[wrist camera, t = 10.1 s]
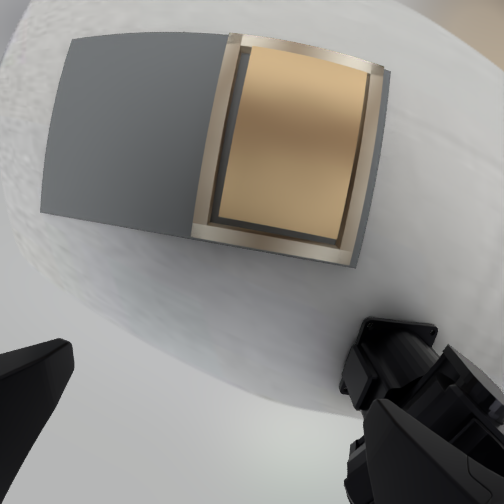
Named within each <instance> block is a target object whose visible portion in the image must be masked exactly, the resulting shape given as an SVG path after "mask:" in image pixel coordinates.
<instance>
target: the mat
mask: <svg viewBox="0 0 504 504" xmlns="http://www.w3.org/2000/svg"><path fill="white" fill-rule="evenodd" d="M228 36H229V35H222V34H209V33H189V32H145V33H125V34H112V35H102V36H93V37H85V38H78V39H72V41H71V44H70V47H69V51H68V54H67V57H66V60H65V64H64V67H63V71H62V74H61V78H60V82H59V86H58V90H57V94H56V99H55V103H54V108H53V112H52V117H51V123H50V128H49V134H48V140H47V147H46V154H45V162H44V170H43V180H42V192H41V208H40V213H46V214H52V215H58V216H63V217H69V218H75V219H80V220H86V221H92V222H97V223H103V224H109V225H115V226H120V227H126V228H132V229H137V230H143V231H149V232H154V233H160V234H166V235H171V236H177V237H182V238H188V239H194V240H199V241H205V242H211V243H216V244H222V245H227V246H233V247H239V248H244V249H250V250H255V251H261V252H267V253H272V254H278V255H283V256H289V257H295V258H300V259H306V260H311V261H317V262H322V263H328V264H334V265H339V266H345V267H350V268H356V265H357V262H358V258H359V254H360V250H361V246H362V241H363V237H364V233H365V229H366V224H367V220H368V215H369V211H370V206H371V201H372V196H373V191H374V186H375V181H376V175H377V170H378V164H379V158H380V152H381V146H382V140H383V133H384V126H385V118H386V111H387V102H388V93H389V84H390V73H391V71H388V70H385V69H384V74H383V84H382V93H381V102H380V110H379V118H378V125H377V132H376V138H375V145H374V151H373V157H372V163H371V168H370V174H369V179H368V185H367V190H366V195H365V200H364V205H363V209H362V214H361V219H360V223H359V228H358V232H357V236H356V240H355V245H354V249H353V253H352V257H351V261H350V265H345V264H339V263H334V262H328V261H322V260H317V259H311V258H306V257H300V256H295V255H289V254H284V253H278V252H273V251H267V250H261V249H256V248H250V247H245V246H239V245H233V244H228V243H222V242H216V241H211V240H205V239H200V238H194V237H191V231H192V224H193V217H194V210H195V203H196V197H197V191H198V184H199V178H200V172H201V166H202V161H203V155H204V149H205V144H206V138H207V133H208V128H209V123H210V117H211V112H212V107H213V103H214V98H215V93H216V88H217V84H218V79H219V74H220V70H221V66H222V61H223V57H224V53H225V48H226V44H227V40H228ZM249 59H250V54H246V53H242V54H241V58H240V63H239V67H238V72H237V77H236V81H235V86H234V91H233V96H232V101H231V106H230V111H229V116H228V121H227V126H226V132H225V137H224V142H223V148H222V153H221V159H220V164H219V170H218V176H217V182H216V188H215V194H214V200H213V206H212V212H211V219H210V222H212V223H217V224H223V225H229V226H235V227H240V228H246V229H251V230H257V231H263V232H268V233H274V234H279V235H284V236H290V237H295V238H300V239H306V240H311V241H316V242H322V243H327V244H332V245H335V243H336V239H332V238H327V237H322V236H317V235H312V234H308V233H303V232H298V231H292V230H287V229H282V228H277V227H272V226H267V225H262V224H256V223H251V222H246V221H240V220H235V219H230V218H224V217H219V210H220V204H221V199H222V193H223V187H224V182H225V176H226V171H227V166H228V160H229V155H230V150H231V145H232V140H233V134H234V129H235V124H236V119H237V115H238V110H239V105H240V100H241V95H242V91H243V86H244V81H245V77H246V72H247V68H248V63H249Z"/></svg>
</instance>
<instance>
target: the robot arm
mask: <svg viewBox="0 0 504 504" xmlns="http://www.w3.org/2000/svg"><path fill="white" fill-rule="evenodd" d="M370 323H372V325H371V326H370V327H367V326H368V324H370ZM432 330H433V331H432ZM431 331H432V332H431ZM430 332H431V333H430ZM437 333H438V328H437V327H436V326H435V325H433V324H424V323H415V322H406V321H397V320H388V319H380V318H372V317H369V318H366V319H365V320H364V321H363V323H362V326H361V329H360V332H359V335H358V338H357V341H356V344H354V345H353V346H352V348H351V350H350V353H349V356H348V359H347V361H346V364H345V367H344V369H343V372H342V376H343V378H342V381H341V383H340V386H339V390H340V392H341V393H342V394H345V395H350V398H351V400H352V403H353V406H354V408H355V409H356V410H357V411H361V412H362V415H363V417H364V422H363V428H364V435H363V436H362V437H361V438H360V439H359V440H356V441H354V442H353V443H352V444H351V445H350V454H349V460H348V462H347V470H348V471H347V472H348V473H347V478H346V479H345V480H344V487H345V489H346V493H347V497H348V499H349V502H350V504H504V394H503V393H502V391H501V390H500V388H499V387H498V386H497V385H496V384H495V383H494V382H493V381H492V380H491V379H490V378H489V377H488V376H487V375H486V374H485V373H484V372H483V371H482V370H481V369H479V368H478V367H477V366H476V365H474V364H473V363H472V362H471V361H469V360H468V359H467V358H465V357H464V356H463V355H462V354H460V353H459V352H458V351H457V350H455V349H454V348H453V347H451V346H450V345H449V344H448V345H447V346H446V347H445V349H444V350H443V351H442V352H443V354H442V355H441V356H439V355H438V354H437V353H436V352H435V351H434V350H433V349H432V345H433V343H434V340H435V338H436V335H437ZM73 371H74V356H73V348H72V344H71V343H70V342H69V341H67V340H64V339H61V338H57V339H54V340H50V341H47V342H43V343H40V344H36V345H33V346H29V347H25V348H21V349H18V350H14V351H10V352H6V353H3V354H0V504H2V501H3V499H4V498H5V495H6V494H7V492H8V490H9V488H10V485H11V484H12V482H13V480H14V478H15V476H16V475H17V473H18V471H19V469H20V467H21V465H22V464H23V462H24V460H25V458H26V456H27V455H28V453H29V451H30V450H31V448H32V446H33V444H34V443H35V441H36V439H37V438H38V436H39V434H40V433H41V431H42V429H43V427H44V426H45V424H46V422H47V421H48V419H49V418H50V416H51V414H52V413H53V411H54V409H55V408H56V406H57V404H58V402H59V399H60V398H61V395H62V393H63V391H64V389H65V387H66V385H67V383H68V381H69V379H70V377H71V375H72V373H73ZM345 387H347V388H346V389H344V388H345Z"/></svg>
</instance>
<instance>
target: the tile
mask: <svg viewBox="0 0 504 504" xmlns="http://www.w3.org/2000/svg"><path fill="white" fill-rule="evenodd" d="M366 79H367V72H364V71H361V70H358V69H355V68H351V67H348V66H344V65H341V64H337V63H334V62H330V61H326V60H322V59H318V58H314V57H310V56H305V55H301V54H296V53H291V52H286V51H281V50H276V49H270V48H264V47H257V46H252V50H251V54H250V59H249V63H248V68H247V72H246V77H245V81H244V86H243V91H242V95H241V100H240V105H239V110H238V115H237V119H236V124H235V129H234V134H233V140H232V145H231V150H230V155H229V160H228V166H227V171H226V176H225V182H224V187H223V193H222V199H221V204H220V210H219V217H224V218H230V219H235V220H240V221H246V222H251V223H256V224H262V225H267V226H272V227H277V228H282V229H287V230H292V231H298V232H303V233H308V234H312V235H317V236H322V237H327V238H332V239H337V237H338V233H339V228H340V224H341V220H342V215H343V211H344V206H345V201H346V197H347V192H348V187H349V182H350V177H351V172H352V167H353V162H354V156H355V151H356V145H357V139H358V133H359V127H360V121H361V115H362V108H363V101H364V94H365V87H366Z"/></svg>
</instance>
